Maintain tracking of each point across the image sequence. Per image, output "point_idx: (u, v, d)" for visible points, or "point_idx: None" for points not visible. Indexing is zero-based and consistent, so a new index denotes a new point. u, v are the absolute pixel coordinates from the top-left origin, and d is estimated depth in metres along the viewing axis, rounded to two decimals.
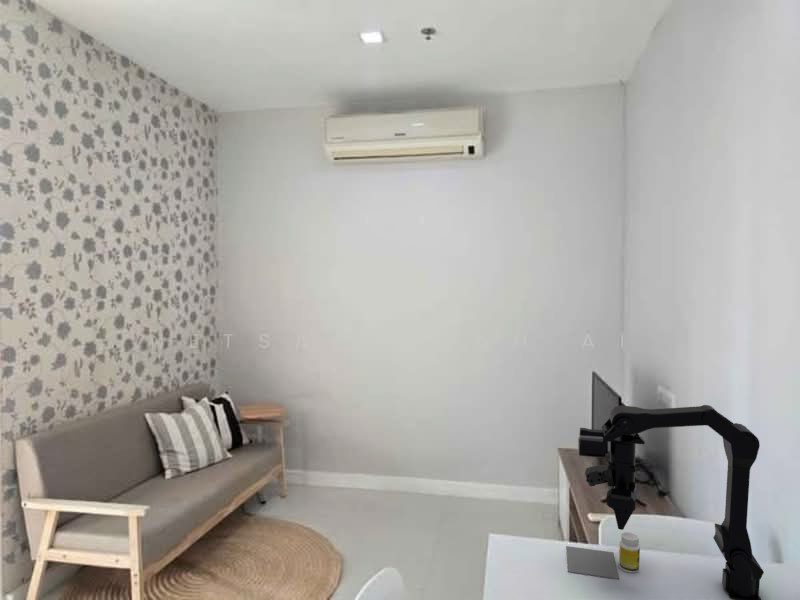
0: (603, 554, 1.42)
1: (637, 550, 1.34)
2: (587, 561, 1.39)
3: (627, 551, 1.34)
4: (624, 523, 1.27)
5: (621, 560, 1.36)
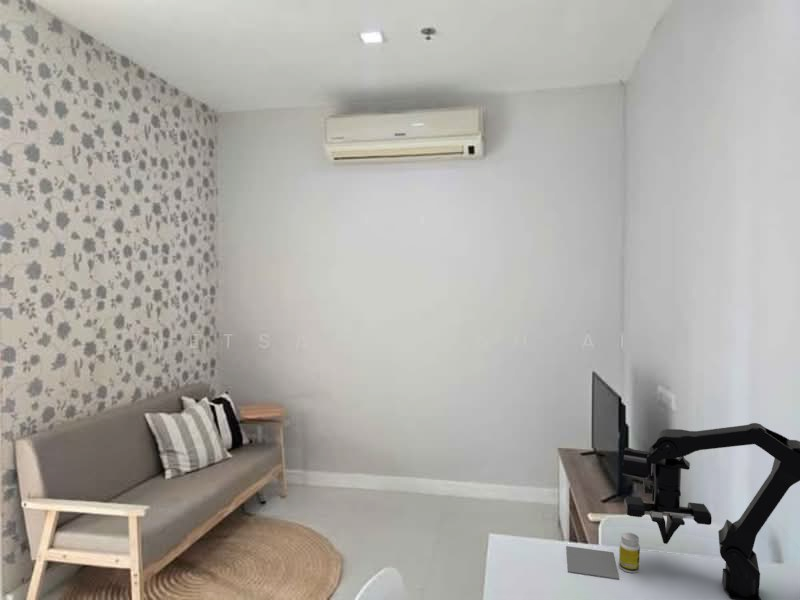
0: (603, 554, 1.42)
1: (637, 550, 1.34)
2: (587, 561, 1.39)
3: (627, 551, 1.34)
4: None
5: (621, 560, 1.36)
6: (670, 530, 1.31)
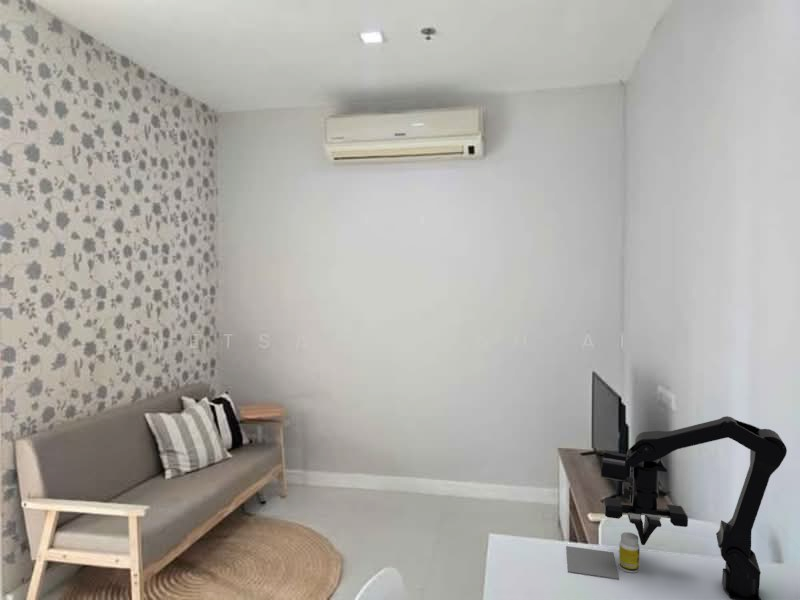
0: (603, 554, 1.42)
1: (637, 550, 1.34)
2: (587, 561, 1.39)
3: (626, 551, 1.34)
4: (639, 537, 1.34)
5: (621, 560, 1.36)
6: (647, 532, 1.33)
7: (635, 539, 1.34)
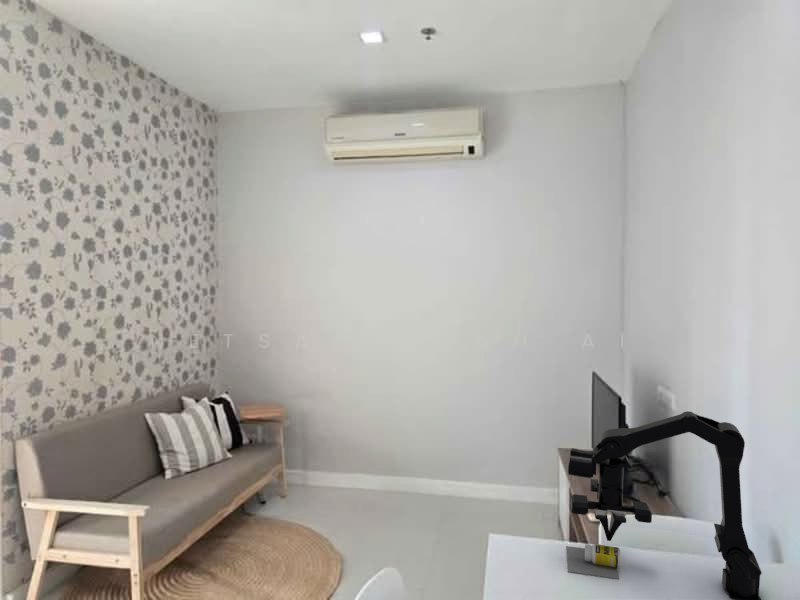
0: None
1: (596, 552, 1.36)
2: (587, 561, 1.39)
3: (596, 562, 1.36)
4: None
5: None
6: (612, 528, 1.35)
7: (585, 551, 1.37)
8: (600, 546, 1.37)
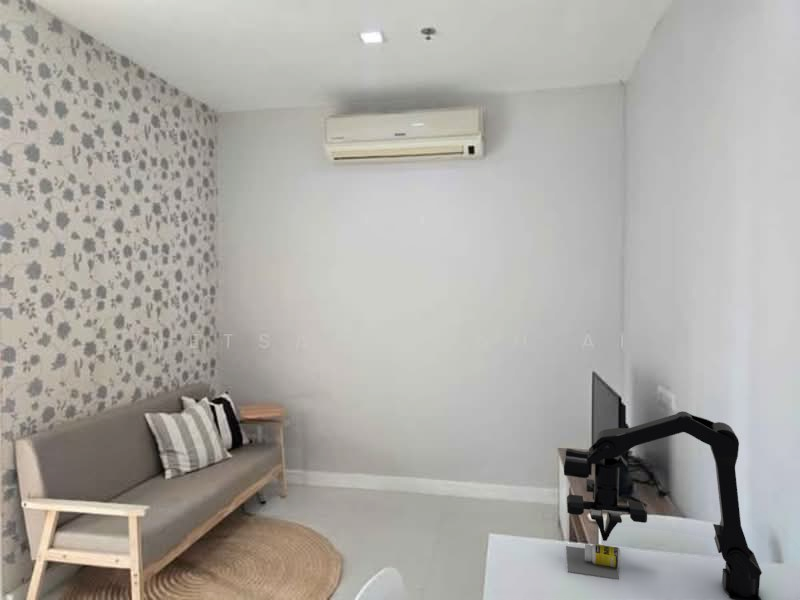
0: None
1: (596, 552, 1.36)
2: (587, 561, 1.39)
3: (596, 562, 1.36)
4: None
5: None
6: (608, 528, 1.35)
7: (585, 551, 1.37)
8: (600, 546, 1.37)
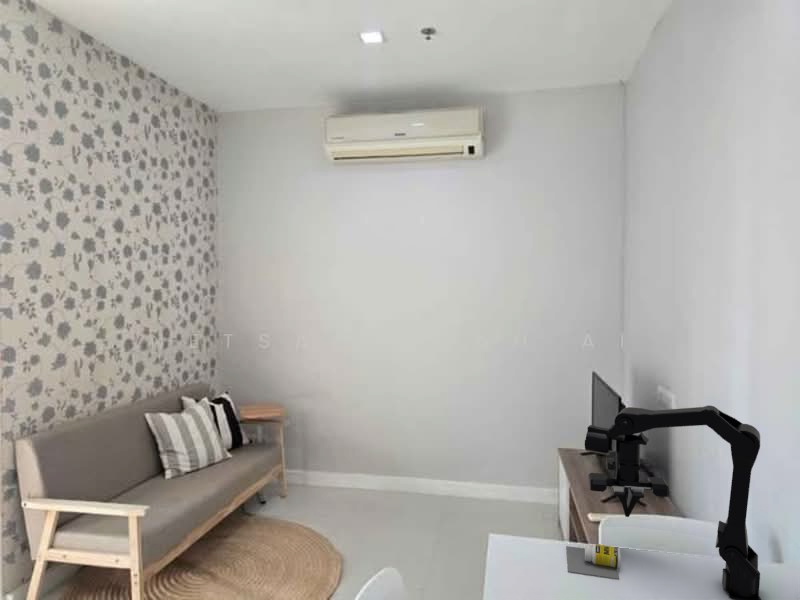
0: None
1: (596, 552, 1.36)
2: (587, 561, 1.39)
3: (596, 562, 1.36)
4: None
5: None
6: (631, 503, 1.37)
7: (585, 551, 1.37)
8: (600, 546, 1.37)
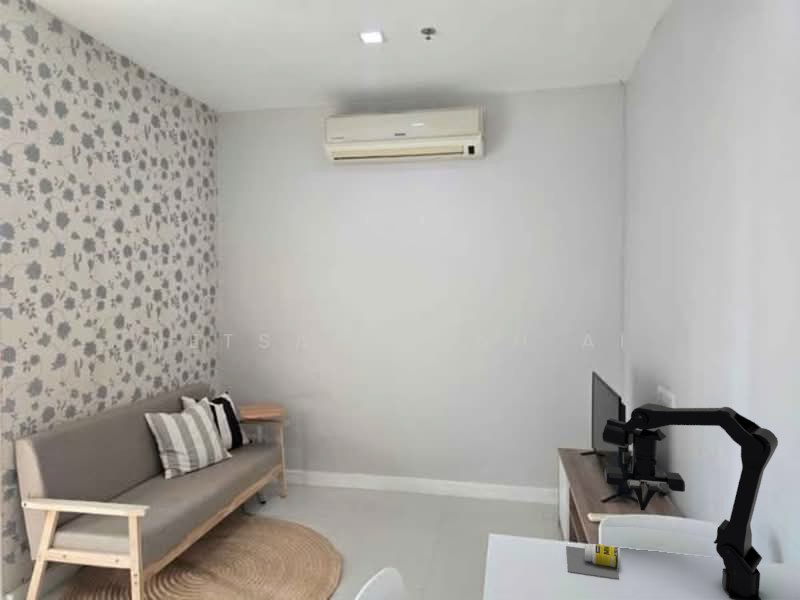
0: None
1: (596, 552, 1.36)
2: (587, 561, 1.39)
3: (596, 562, 1.36)
4: (639, 503, 1.41)
5: None
6: (646, 497, 1.40)
7: (585, 551, 1.37)
8: (600, 546, 1.37)
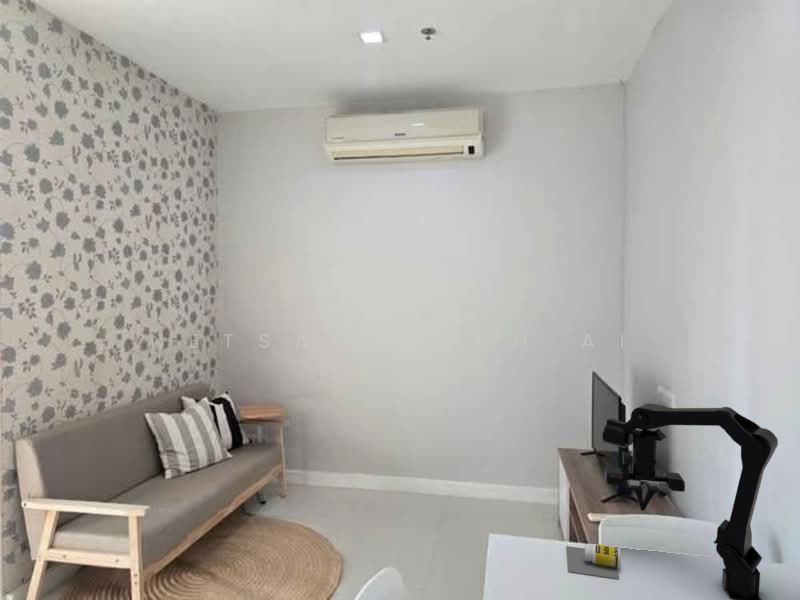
0: None
1: (596, 552, 1.36)
2: (587, 561, 1.39)
3: (596, 562, 1.36)
4: (639, 503, 1.41)
5: None
6: (646, 497, 1.40)
7: (585, 551, 1.37)
8: (600, 546, 1.37)
